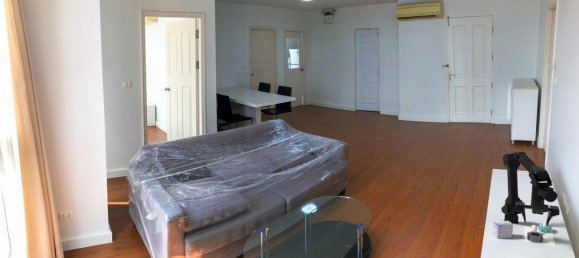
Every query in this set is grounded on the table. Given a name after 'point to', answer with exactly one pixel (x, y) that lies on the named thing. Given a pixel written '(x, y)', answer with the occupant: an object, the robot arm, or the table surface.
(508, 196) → the robot arm
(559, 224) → the table surface
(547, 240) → the gear board
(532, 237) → the gear
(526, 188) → the table surface
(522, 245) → the table surface
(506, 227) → the medicine box
